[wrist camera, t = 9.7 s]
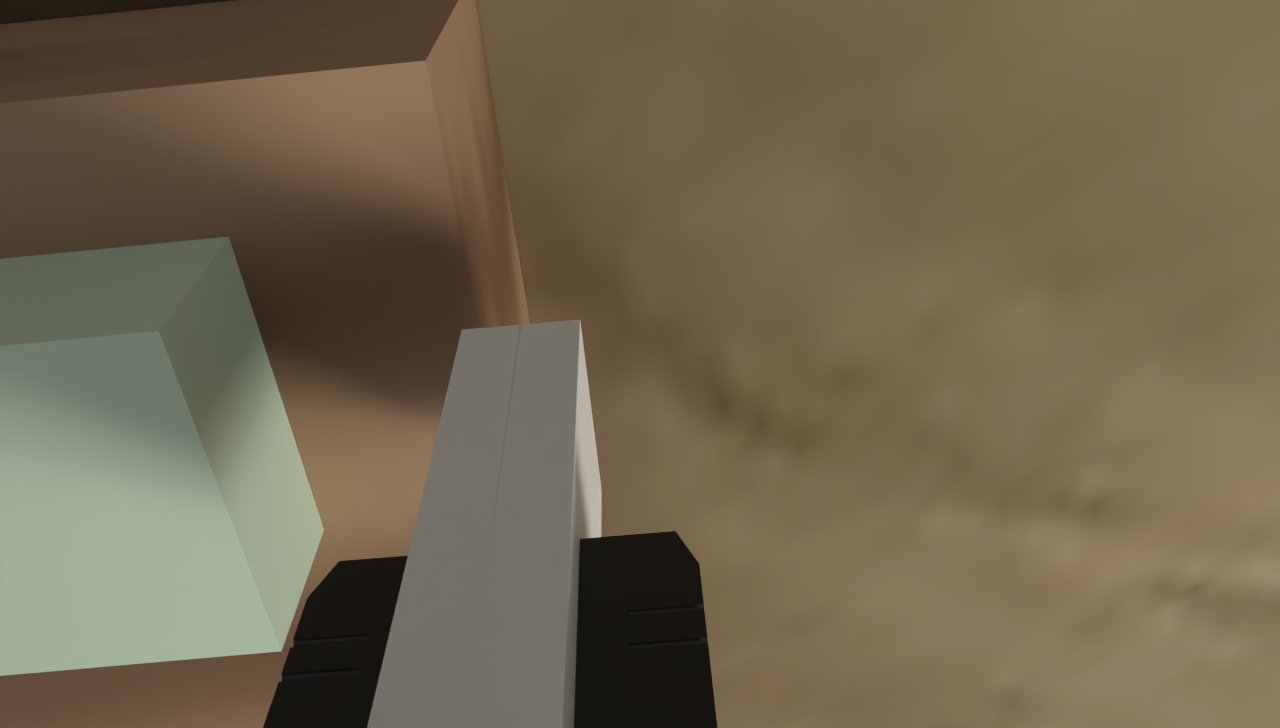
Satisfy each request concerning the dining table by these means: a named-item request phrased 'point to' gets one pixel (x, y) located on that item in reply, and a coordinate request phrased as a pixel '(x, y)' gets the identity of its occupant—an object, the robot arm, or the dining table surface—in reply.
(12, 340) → the sage tile
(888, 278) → the dining table surface
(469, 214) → the walnut riser
